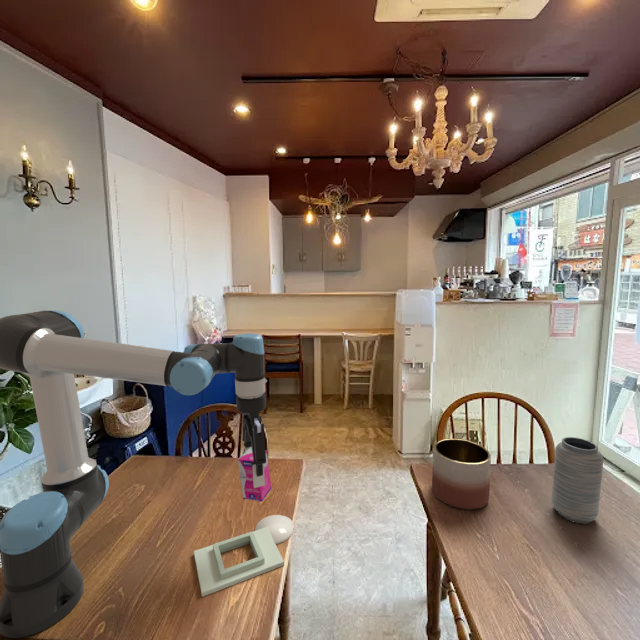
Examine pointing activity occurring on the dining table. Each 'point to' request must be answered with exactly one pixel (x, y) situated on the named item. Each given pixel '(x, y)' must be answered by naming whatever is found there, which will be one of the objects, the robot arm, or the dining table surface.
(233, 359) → the robot arm
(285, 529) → the white egg-shaped stone
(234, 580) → the header board
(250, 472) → the supplement box
